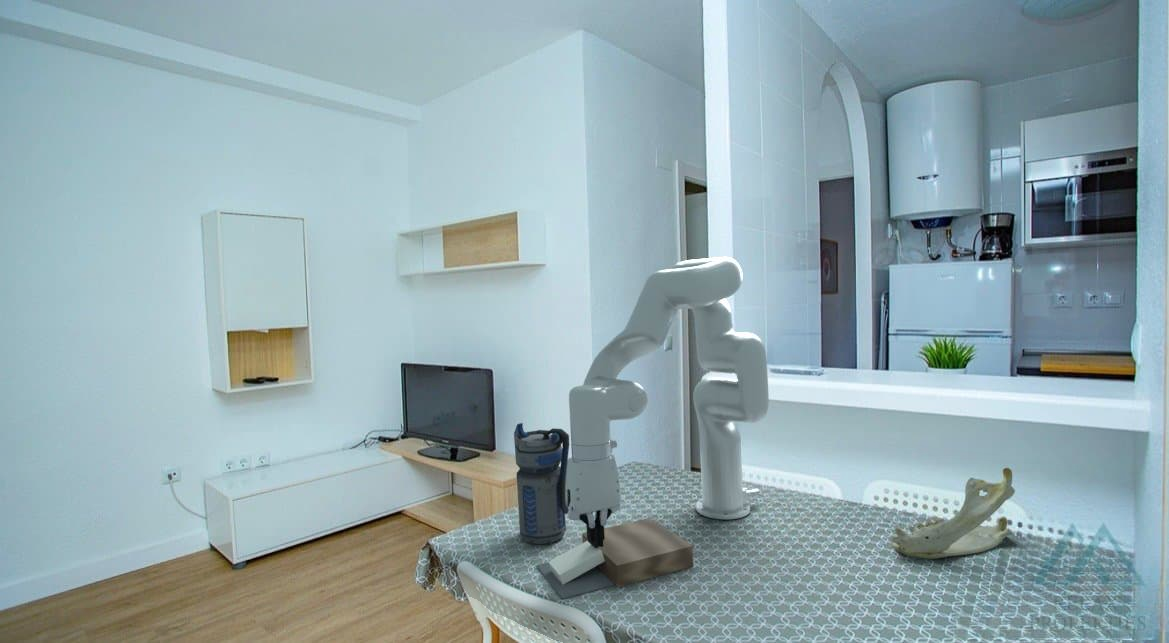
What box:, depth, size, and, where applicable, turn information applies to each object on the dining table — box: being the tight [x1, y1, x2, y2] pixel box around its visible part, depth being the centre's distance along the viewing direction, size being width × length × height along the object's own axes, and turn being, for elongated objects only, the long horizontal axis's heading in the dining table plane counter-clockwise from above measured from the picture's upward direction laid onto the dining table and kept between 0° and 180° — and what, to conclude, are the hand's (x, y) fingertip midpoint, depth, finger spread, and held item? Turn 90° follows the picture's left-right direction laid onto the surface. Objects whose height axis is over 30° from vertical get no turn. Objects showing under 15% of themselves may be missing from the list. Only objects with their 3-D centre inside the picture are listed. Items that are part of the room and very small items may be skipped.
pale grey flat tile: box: [548, 541, 605, 584], centre depth 109 cm, size 9×6×2 cm, turn 113°
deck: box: [581, 517, 694, 588], centre depth 114 cm, size 16×16×4 cm
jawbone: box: [890, 467, 1016, 560], centre depth 111 cm, size 25×18×10 cm
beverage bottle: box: [513, 422, 570, 545], centre depth 126 cm, size 10×13×25 cm
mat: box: [536, 561, 615, 601], centre depth 109 cm, size 10×14×1 cm
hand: (596, 544), depth 111 cm, fingers closed
